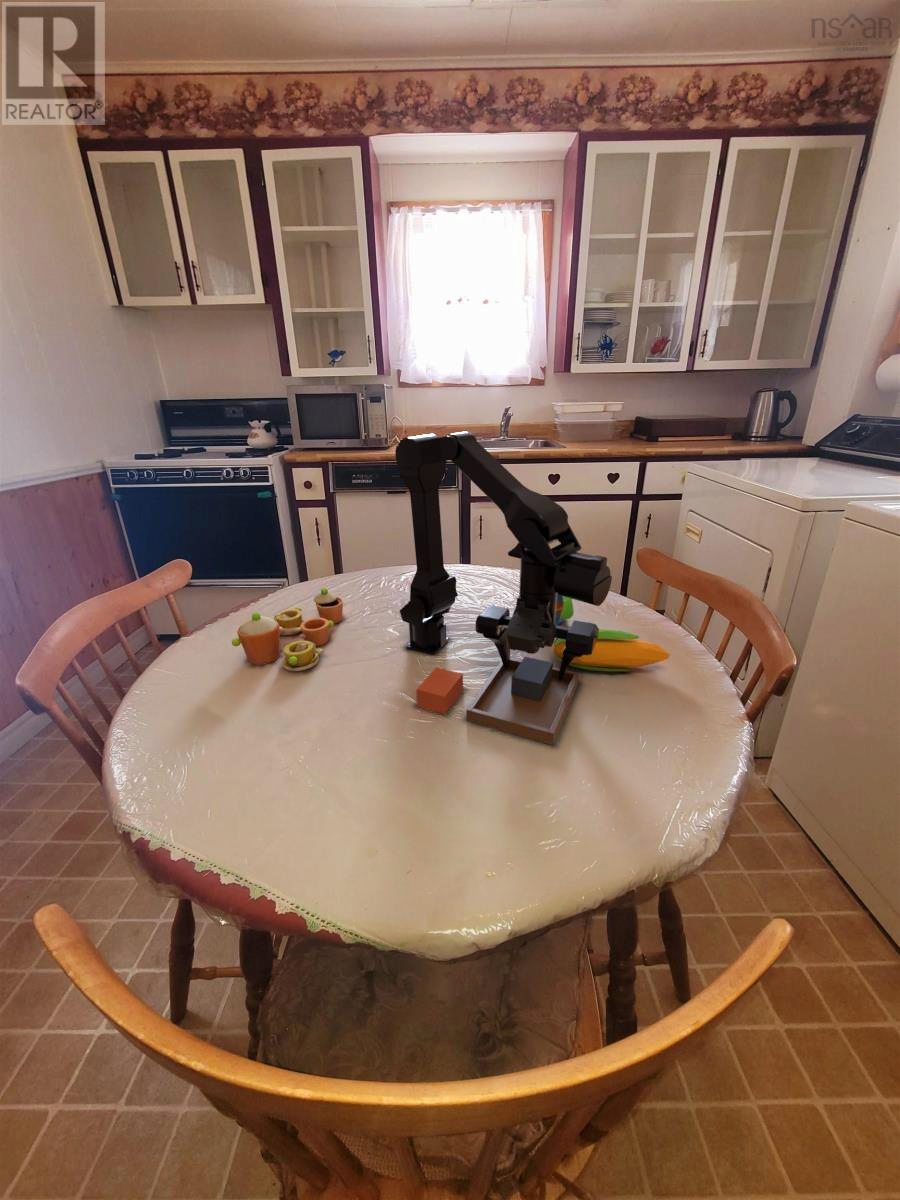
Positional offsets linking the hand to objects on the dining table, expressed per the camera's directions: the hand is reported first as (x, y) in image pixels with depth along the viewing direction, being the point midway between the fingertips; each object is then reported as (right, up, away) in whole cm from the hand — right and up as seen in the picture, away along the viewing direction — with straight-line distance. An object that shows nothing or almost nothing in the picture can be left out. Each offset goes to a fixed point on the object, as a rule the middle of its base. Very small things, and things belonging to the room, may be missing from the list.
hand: (533, 673), depth 81 cm
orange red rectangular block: (-15, -4, 0) cm, 16 cm away
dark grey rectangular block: (0, -2, +1) cm, 3 cm away
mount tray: (-1, -4, -1) cm, 5 cm away
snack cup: (+7, +8, +25) cm, 27 cm away
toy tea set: (-45, +4, +19) cm, 49 cm away
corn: (+15, 0, +7) cm, 17 cm away
